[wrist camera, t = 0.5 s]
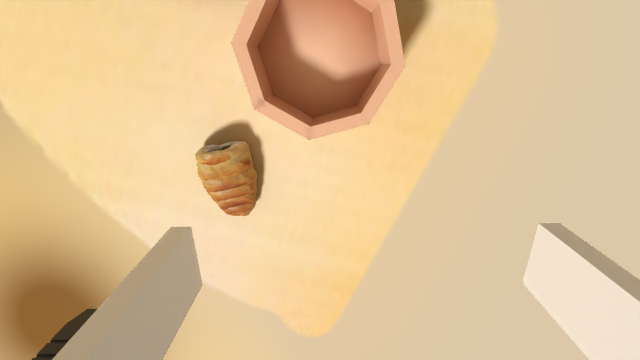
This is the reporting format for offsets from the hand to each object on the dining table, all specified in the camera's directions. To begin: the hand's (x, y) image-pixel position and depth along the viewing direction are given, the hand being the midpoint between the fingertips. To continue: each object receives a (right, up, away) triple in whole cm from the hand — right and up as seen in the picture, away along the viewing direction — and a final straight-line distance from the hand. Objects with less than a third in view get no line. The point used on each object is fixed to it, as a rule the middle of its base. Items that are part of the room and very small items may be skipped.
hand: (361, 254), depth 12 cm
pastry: (-12, +4, +27) cm, 30 cm away
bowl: (-2, +16, +21) cm, 27 cm away
